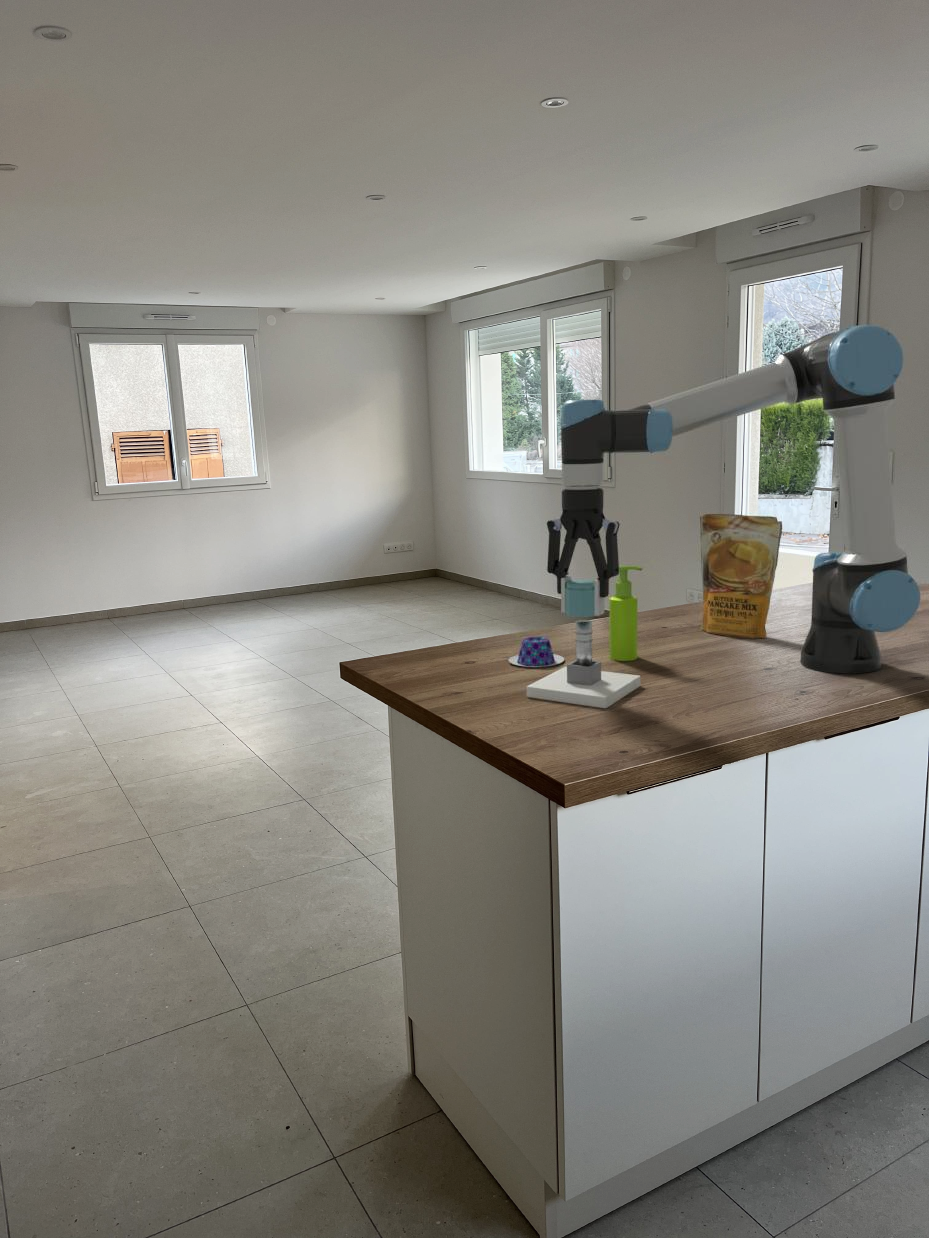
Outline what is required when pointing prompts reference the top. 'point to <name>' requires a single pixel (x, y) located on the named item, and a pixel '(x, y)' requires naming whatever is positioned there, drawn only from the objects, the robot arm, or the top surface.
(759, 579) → the pancake mix bag
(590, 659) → the post
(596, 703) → the post base
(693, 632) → the top surface
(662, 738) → the top surface
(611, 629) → the soap dispenser
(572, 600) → the cap
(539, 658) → the patterned brimmed hat
